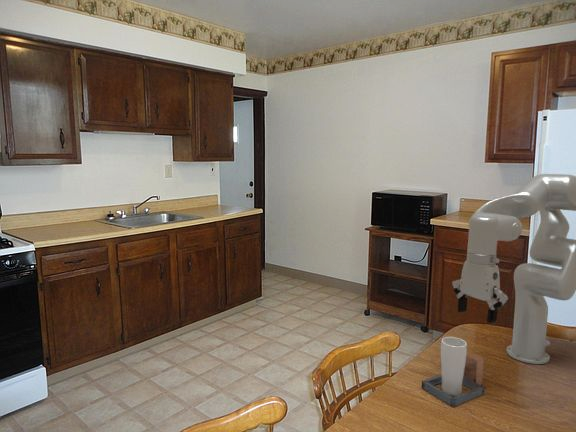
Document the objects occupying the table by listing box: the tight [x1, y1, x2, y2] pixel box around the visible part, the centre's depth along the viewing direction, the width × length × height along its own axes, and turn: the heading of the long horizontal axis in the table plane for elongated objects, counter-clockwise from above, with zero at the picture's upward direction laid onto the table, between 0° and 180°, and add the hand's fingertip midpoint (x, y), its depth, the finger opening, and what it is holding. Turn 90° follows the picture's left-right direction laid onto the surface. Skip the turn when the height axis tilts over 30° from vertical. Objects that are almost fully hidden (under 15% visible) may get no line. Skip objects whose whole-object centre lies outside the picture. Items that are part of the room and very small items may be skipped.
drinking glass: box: [440, 336, 468, 397], centre depth 117 cm, size 7×7×15 cm
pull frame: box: [421, 352, 486, 408], centre depth 118 cm, size 17×11×8 cm, turn 119°
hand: (476, 316), depth 120 cm, fingers open, 9 cm apart
